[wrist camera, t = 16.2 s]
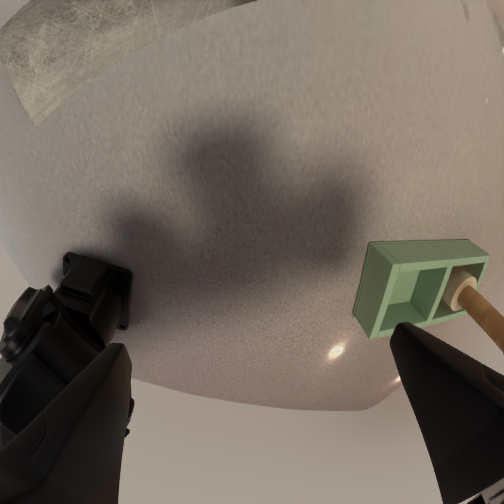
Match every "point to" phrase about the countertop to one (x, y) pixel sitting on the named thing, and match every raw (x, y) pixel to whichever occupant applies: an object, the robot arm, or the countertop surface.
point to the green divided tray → (412, 282)
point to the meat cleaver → (84, 41)
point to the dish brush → (473, 304)
